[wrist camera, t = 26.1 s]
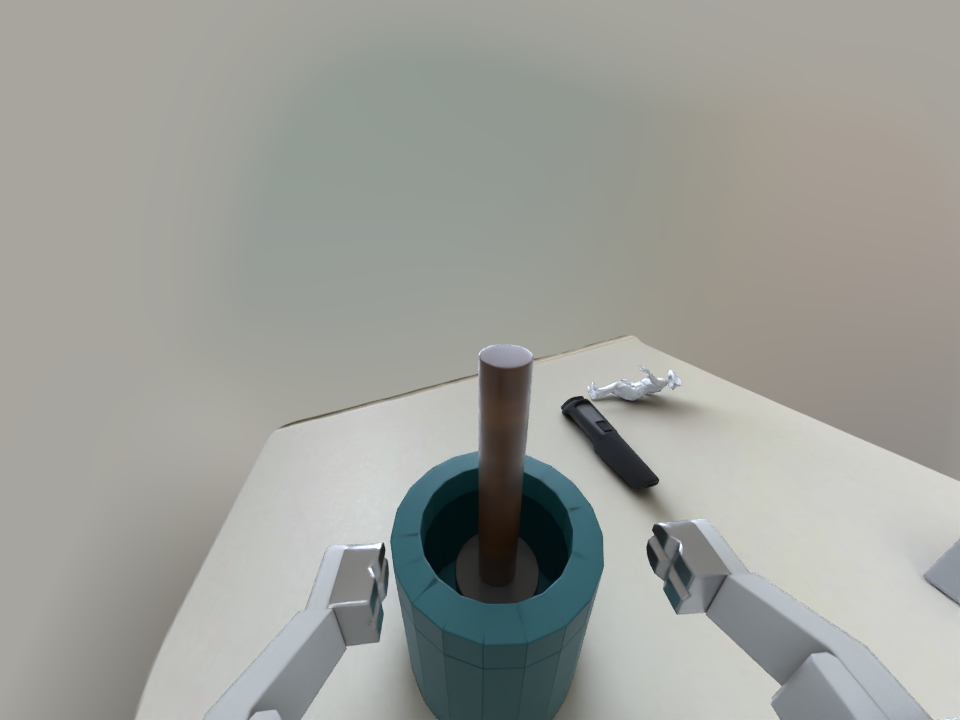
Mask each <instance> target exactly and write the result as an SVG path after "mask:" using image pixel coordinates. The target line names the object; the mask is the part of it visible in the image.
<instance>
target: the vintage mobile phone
mask: <svg viewBox="0 0 960 720" xmlns="http://www.w3.org/2000/svg"><path fill="white" fill-rule="evenodd" d="M923 576H924V577H925V579H926V580H927V581H929V582H930V583H931V584H933V585H934V586H936V587H937V588H938V589H940V590H941V591H942V592H944V593H945V594H946V595H948V596H949V597H950V598H952V599H953V600H955V601H956V602H957V603H959V604H960V539H959V540H958V541H957V542H956V543H955V544H954V545H953V546H952V547H951V548H950V549H949V550H948V551H947V552H946V553H945V554H944V555H943V556H942V557H941V558H940V559H939V560H938V561H937V562H936V563H935V564H934V565H933V566H932V567H931V568H930V569H929V570H928V571H927V572H926V573H925V574H924V575H923Z"/></svg>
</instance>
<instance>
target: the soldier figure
mask: <svg viewBox="0 0 960 720" xmlns="http://www.w3.org/2000/svg"><path fill="white" fill-rule="evenodd" d="M639 368H640V369H642V370H640V371H643V372H645V373H647V377H648V379H643V380H640V382H638V383H632V382H631V381H629V380H626V379H621V381H624V382H626V384H624V383H622V382H615V383H613V384H611V385H609V386H607V387H604V388H600V389H599V388H598V387H596V386H595V384H594V383H593V382H592V384H591V385H592V389H593V390H592V389H591V388H590V386H588V392H589V394H590V395H591V397H592V399H593V400H594V399H596V398H598V397H600V396H604V395H607V394H609V393H610V392H611V393H613V394H616V395H617V396H619V397H622V398H623V399H626V400H632V401H634V400H635V401H636V400H637V399H639V398H642V397H643V396H644V395H645V394H646V393H655V392H660V391H661V390H662V389H663V388H664V387H665V386H666V385H667V384H668V385H669V388H672V390H673V389H675V388H676V387H677V386H681V380H680V378H679V377H678V376H677V375H676V374H675V373H674V372H673V371H671V370H669V375H668V376H666V377H668V382H667V381H666V379H663V378H661V377H654V376H653V374H652V373H651V372H649V371H648V370H647V369H646V368H645V367H643V366H639ZM628 385H631V386H628Z"/></svg>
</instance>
